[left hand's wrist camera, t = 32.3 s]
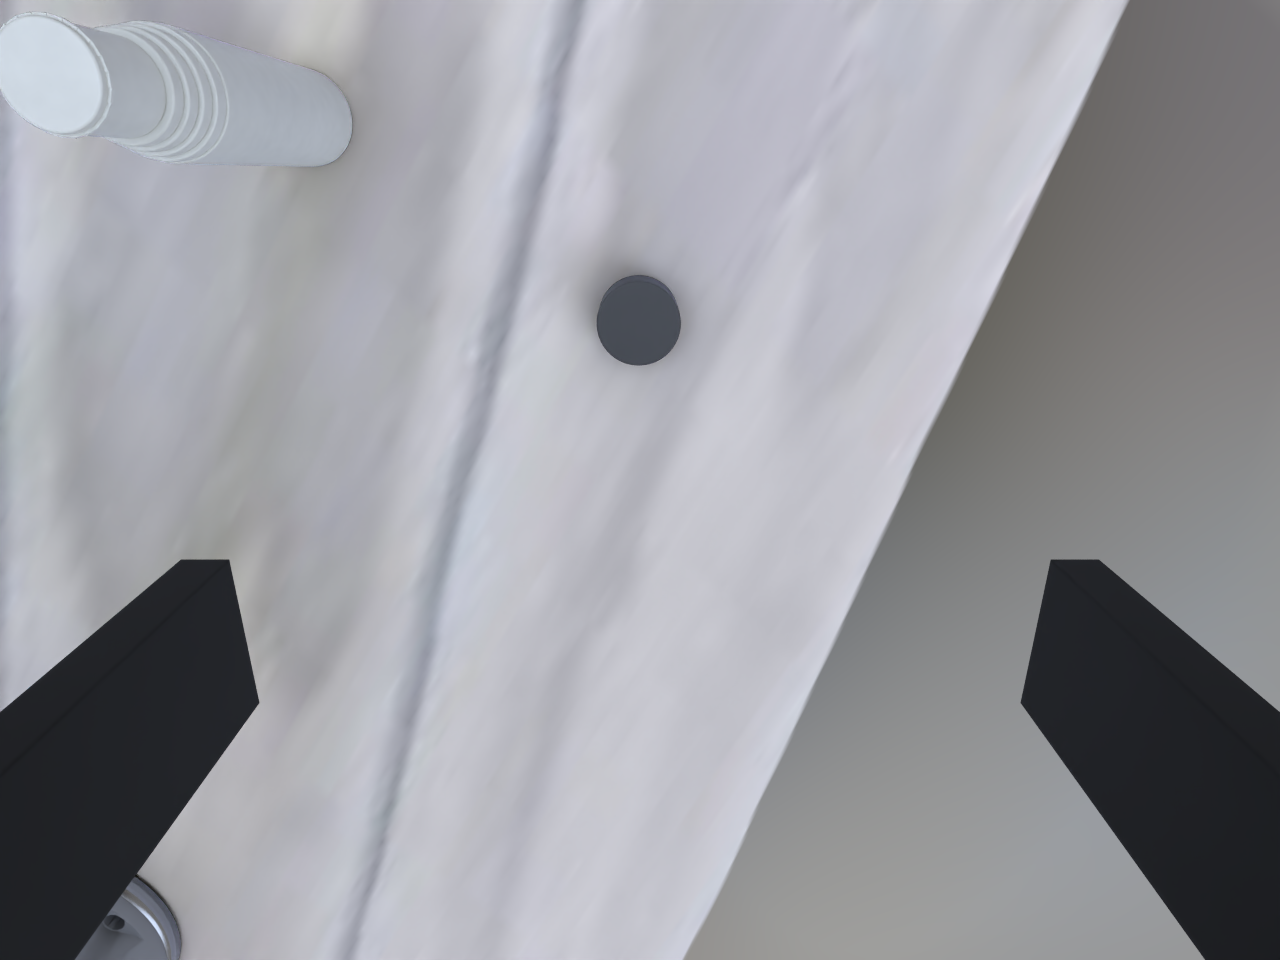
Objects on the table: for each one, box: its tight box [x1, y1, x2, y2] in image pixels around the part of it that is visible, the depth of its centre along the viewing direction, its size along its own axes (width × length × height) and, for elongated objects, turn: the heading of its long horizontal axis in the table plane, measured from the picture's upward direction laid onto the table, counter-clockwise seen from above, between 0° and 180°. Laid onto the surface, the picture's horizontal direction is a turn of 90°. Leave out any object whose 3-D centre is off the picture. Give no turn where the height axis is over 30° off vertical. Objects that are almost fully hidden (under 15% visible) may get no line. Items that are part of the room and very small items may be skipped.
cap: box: [597, 275, 681, 365], centre depth 40 cm, size 4×4×2 cm
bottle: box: [0, 12, 352, 167], centre depth 29 cm, size 4×4×18 cm
